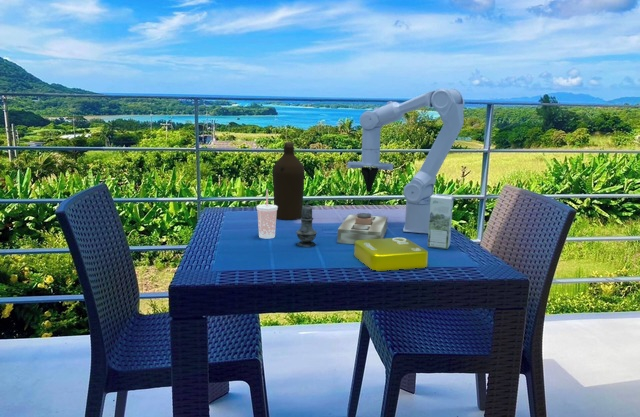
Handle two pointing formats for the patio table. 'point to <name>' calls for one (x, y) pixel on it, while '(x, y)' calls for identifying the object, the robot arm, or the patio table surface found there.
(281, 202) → the olive oil
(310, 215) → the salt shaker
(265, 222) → the beverage cup
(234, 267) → the patio table surface
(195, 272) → the patio table surface
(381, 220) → the grey square block
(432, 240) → the syrup box
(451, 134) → the robot arm
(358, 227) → the cube with pale circle
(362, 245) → the element tile
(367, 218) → the beige grey-dot cube
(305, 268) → the patio table surface
